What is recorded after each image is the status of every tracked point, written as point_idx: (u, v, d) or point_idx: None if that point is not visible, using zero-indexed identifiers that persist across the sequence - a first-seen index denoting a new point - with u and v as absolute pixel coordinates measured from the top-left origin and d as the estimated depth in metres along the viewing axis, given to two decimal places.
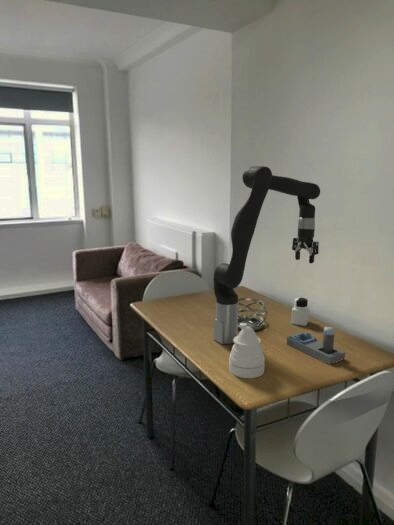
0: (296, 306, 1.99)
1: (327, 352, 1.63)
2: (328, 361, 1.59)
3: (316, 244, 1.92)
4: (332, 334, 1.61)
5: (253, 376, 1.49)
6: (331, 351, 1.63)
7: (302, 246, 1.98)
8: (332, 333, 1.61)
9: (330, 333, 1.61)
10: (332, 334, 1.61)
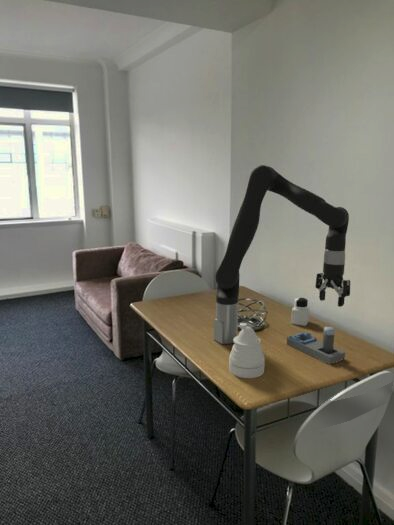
0: (296, 306, 1.99)
1: (327, 352, 1.63)
2: (328, 361, 1.59)
3: (347, 284, 1.53)
4: (332, 334, 1.61)
5: (253, 376, 1.49)
6: (331, 351, 1.63)
7: (329, 285, 1.59)
8: (332, 333, 1.61)
9: (330, 333, 1.61)
10: (332, 334, 1.61)
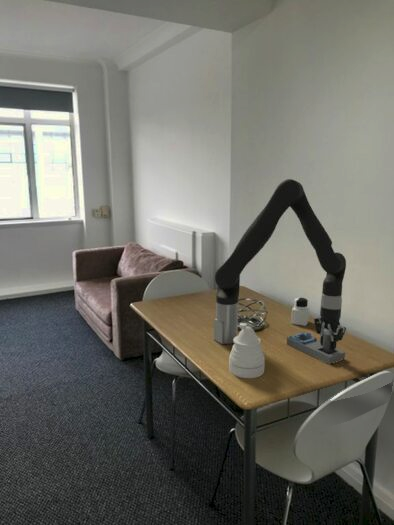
0: (296, 306, 1.99)
1: (327, 352, 1.63)
2: (328, 361, 1.59)
3: (342, 331, 1.57)
4: None
5: (253, 376, 1.49)
6: (331, 351, 1.63)
7: (327, 327, 1.62)
8: None
9: None
10: None
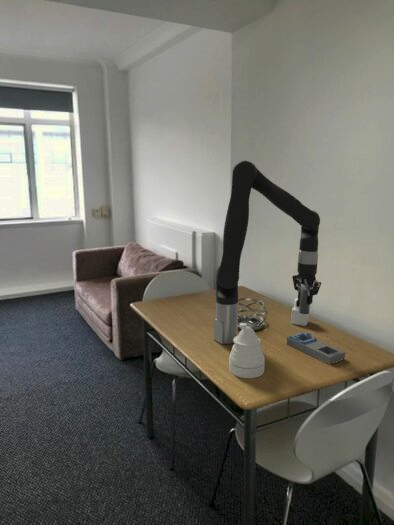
0: (296, 306, 1.99)
1: (304, 307, 1.70)
2: (328, 361, 1.59)
3: (318, 285, 1.64)
4: None
5: (253, 376, 1.49)
6: (308, 306, 1.70)
7: (304, 282, 1.69)
8: None
9: None
10: None
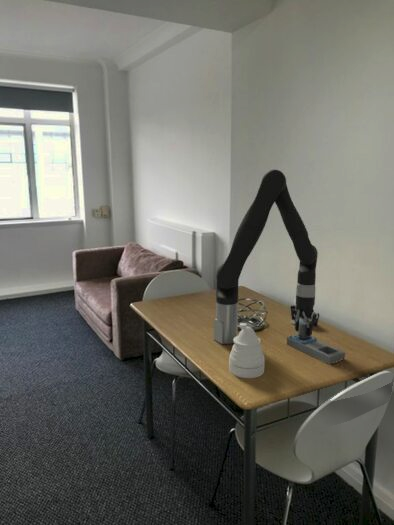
0: None
1: None
2: (328, 361, 1.59)
3: (316, 317, 1.67)
4: None
5: (253, 376, 1.49)
6: None
7: (302, 315, 1.73)
8: None
9: (305, 323, 1.72)
10: (306, 324, 1.72)
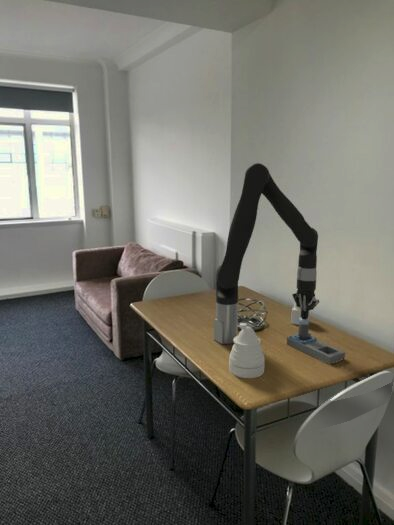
0: (296, 306, 1.99)
1: None
2: (328, 361, 1.59)
3: (315, 304, 1.67)
4: (307, 324, 1.72)
5: (253, 376, 1.49)
6: None
7: None
8: (307, 323, 1.72)
9: (305, 323, 1.72)
10: (306, 324, 1.72)
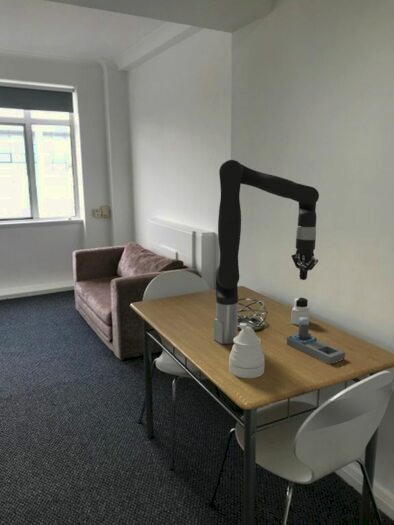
0: (296, 306, 1.99)
1: None
2: (328, 361, 1.59)
3: (314, 263, 1.65)
4: (307, 324, 1.72)
5: (253, 376, 1.49)
6: None
7: None
8: (307, 323, 1.72)
9: (305, 323, 1.72)
10: (306, 324, 1.72)
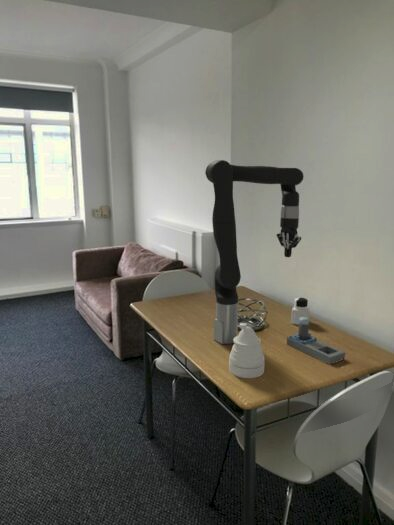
0: (296, 306, 1.99)
1: None
2: (328, 361, 1.59)
3: (297, 240, 1.75)
4: (307, 324, 1.72)
5: (253, 376, 1.49)
6: None
7: None
8: (306, 323, 1.72)
9: (305, 323, 1.72)
10: (306, 324, 1.72)
